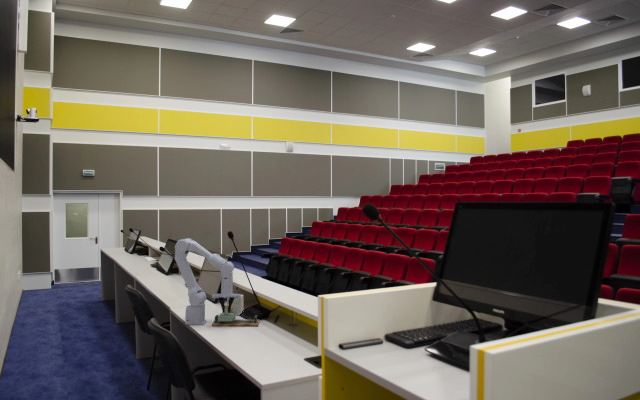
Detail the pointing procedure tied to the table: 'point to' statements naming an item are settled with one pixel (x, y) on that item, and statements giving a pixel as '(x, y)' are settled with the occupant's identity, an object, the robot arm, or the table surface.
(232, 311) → the gauge cabinet
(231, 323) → the rail bed
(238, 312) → the small box
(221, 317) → the carriage
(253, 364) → the table surface
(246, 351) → the table surface
